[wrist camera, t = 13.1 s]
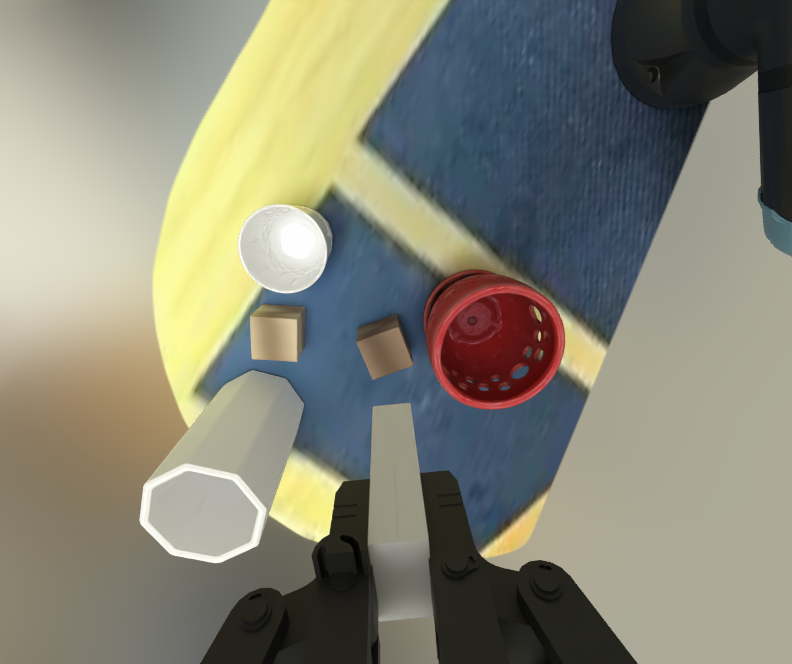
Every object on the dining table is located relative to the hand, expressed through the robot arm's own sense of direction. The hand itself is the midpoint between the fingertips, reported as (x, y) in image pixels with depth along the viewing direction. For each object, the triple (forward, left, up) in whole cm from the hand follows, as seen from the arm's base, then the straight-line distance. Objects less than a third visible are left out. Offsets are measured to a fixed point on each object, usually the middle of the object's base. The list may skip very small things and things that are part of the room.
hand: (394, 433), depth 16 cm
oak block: (+13, +5, -33) cm, 35 cm away
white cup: (+9, -5, -33) cm, 34 cm away
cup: (+18, +16, -33) cm, 41 cm away
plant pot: (-10, +6, -33) cm, 35 cm away
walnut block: (+1, +8, -33) cm, 34 cm away
